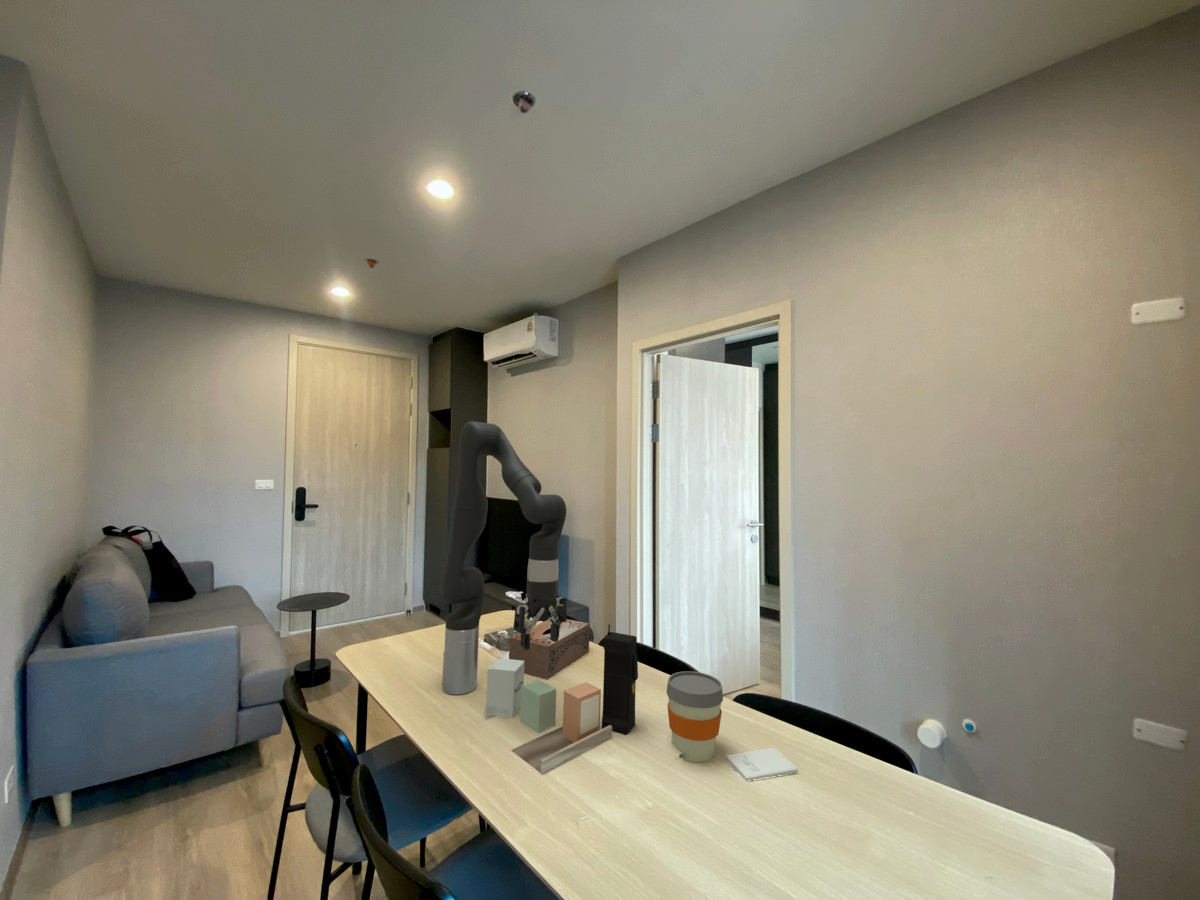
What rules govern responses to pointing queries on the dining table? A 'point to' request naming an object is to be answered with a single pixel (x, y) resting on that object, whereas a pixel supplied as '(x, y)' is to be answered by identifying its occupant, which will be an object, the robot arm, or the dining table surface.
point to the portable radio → (619, 682)
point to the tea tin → (538, 705)
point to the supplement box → (504, 688)
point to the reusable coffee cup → (694, 713)
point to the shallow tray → (558, 748)
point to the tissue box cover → (551, 648)
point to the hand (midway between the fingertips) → (540, 644)
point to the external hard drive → (761, 764)
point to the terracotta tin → (581, 711)
